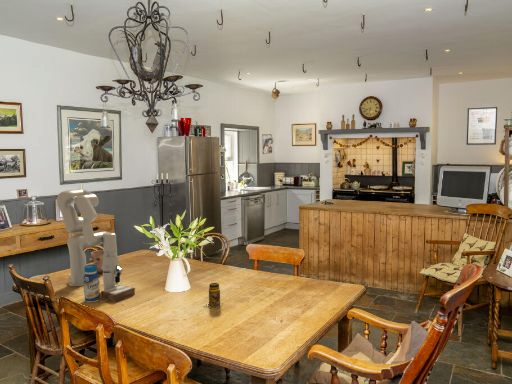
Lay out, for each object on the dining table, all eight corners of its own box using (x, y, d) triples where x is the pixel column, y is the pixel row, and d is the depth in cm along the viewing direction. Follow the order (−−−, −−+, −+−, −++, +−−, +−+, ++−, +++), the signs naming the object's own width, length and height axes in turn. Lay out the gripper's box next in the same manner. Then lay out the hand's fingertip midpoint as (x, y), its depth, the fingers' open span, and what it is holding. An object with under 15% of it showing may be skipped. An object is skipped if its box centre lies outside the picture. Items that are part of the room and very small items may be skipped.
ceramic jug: (96, 276, 289) (95, 255, 287) (84, 272, 297) (83, 252, 296) (119, 270, 303) (118, 250, 302) (107, 267, 312) (106, 247, 310)
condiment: (217, 308, 227) (217, 286, 226) (203, 306, 230) (202, 285, 229) (223, 303, 234) (222, 282, 233) (208, 302, 237) (208, 281, 236)
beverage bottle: (96, 296, 248) (94, 262, 246) (102, 300, 242) (101, 265, 240) (82, 300, 242) (80, 265, 240) (88, 304, 236) (86, 268, 234)
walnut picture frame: (101, 298, 245) (101, 291, 245) (120, 291, 257) (120, 284, 257) (116, 301, 239) (115, 294, 238) (134, 294, 251) (134, 287, 250)
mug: (106, 293, 253) (105, 273, 252) (101, 290, 258) (100, 271, 257) (122, 289, 260) (121, 270, 259) (117, 287, 265) (116, 268, 264)
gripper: (95, 253, 258) (97, 281, 260) (115, 256, 249) (117, 285, 251) (105, 250, 264) (107, 277, 266) (125, 253, 256) (126, 281, 257)
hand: (111, 281), depth 258 cm, fingers open, 9 cm apart
